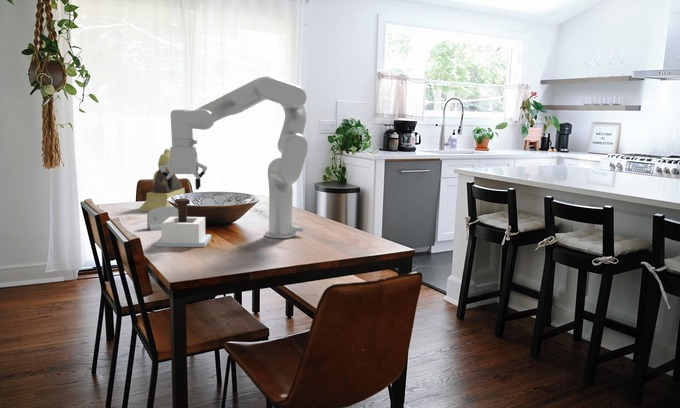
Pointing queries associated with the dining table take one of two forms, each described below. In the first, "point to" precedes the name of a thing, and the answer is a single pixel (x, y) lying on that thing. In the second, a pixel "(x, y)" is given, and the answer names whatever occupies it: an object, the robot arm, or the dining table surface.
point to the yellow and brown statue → (162, 187)
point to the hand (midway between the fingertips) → (184, 189)
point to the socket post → (183, 233)
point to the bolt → (182, 209)
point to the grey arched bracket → (160, 217)
